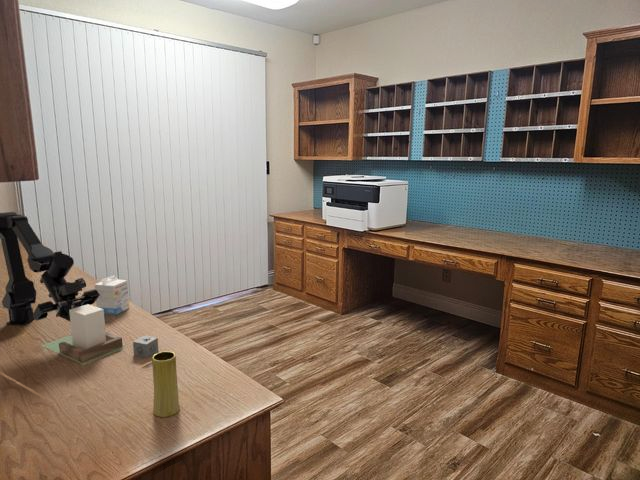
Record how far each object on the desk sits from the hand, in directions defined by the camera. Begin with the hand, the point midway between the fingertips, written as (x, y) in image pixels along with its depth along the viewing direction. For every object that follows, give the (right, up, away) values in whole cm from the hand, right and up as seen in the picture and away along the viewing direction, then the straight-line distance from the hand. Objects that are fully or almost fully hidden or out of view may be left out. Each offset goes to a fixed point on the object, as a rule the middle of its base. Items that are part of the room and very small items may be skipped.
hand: (80, 325), depth 135 cm
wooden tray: (+4, -7, -1) cm, 8 cm away
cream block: (+4, -7, -1) cm, 8 cm away
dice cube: (+22, -9, -2) cm, 24 cm away
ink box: (-5, -1, +33) cm, 33 cm away
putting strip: (+1, -7, +1) cm, 7 cm away
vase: (+38, -15, -30) cm, 51 cm away
